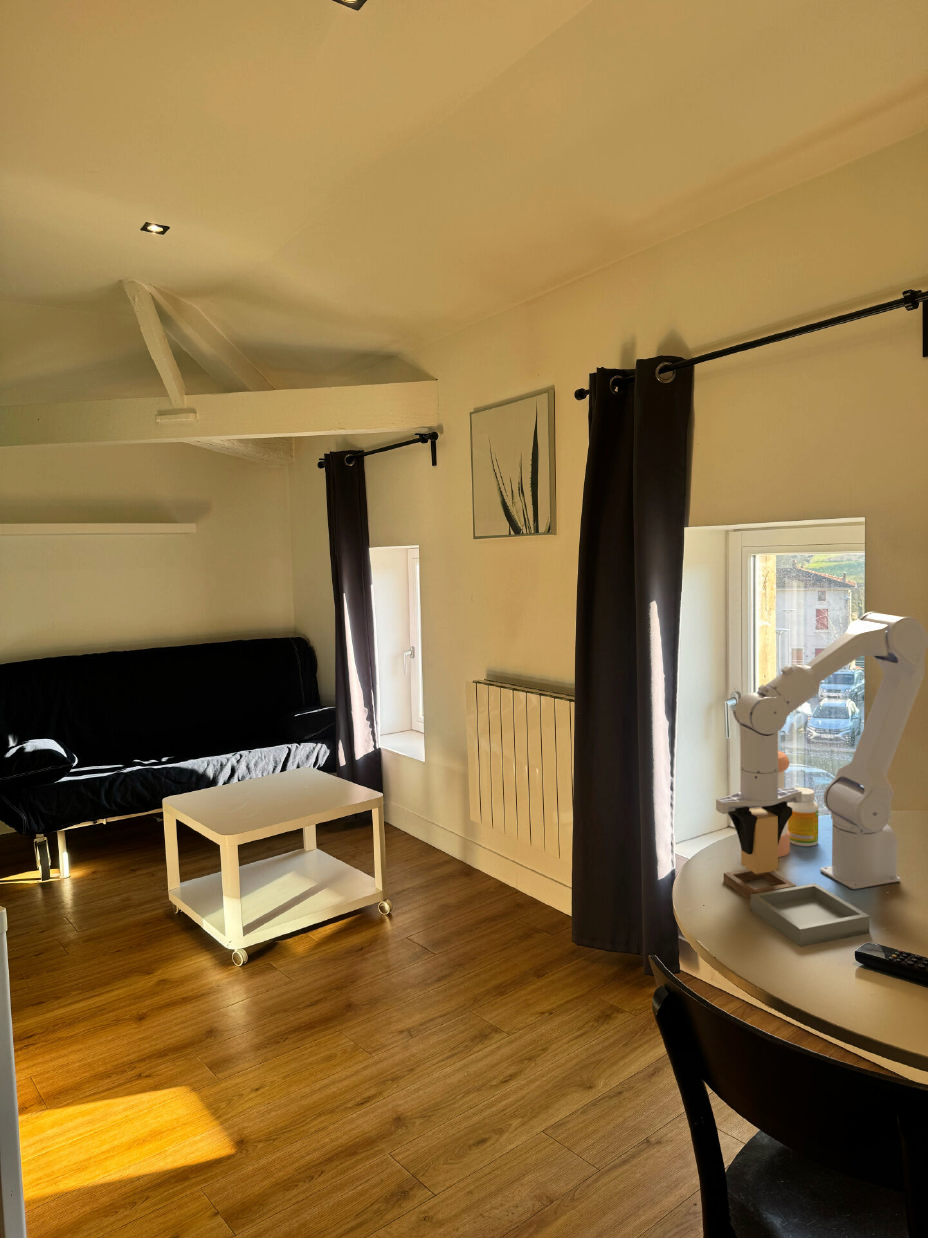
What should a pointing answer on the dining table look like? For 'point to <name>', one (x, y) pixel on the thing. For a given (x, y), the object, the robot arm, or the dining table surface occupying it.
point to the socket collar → (738, 877)
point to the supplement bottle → (804, 820)
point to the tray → (809, 914)
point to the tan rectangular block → (763, 844)
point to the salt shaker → (782, 766)
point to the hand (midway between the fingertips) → (759, 850)
